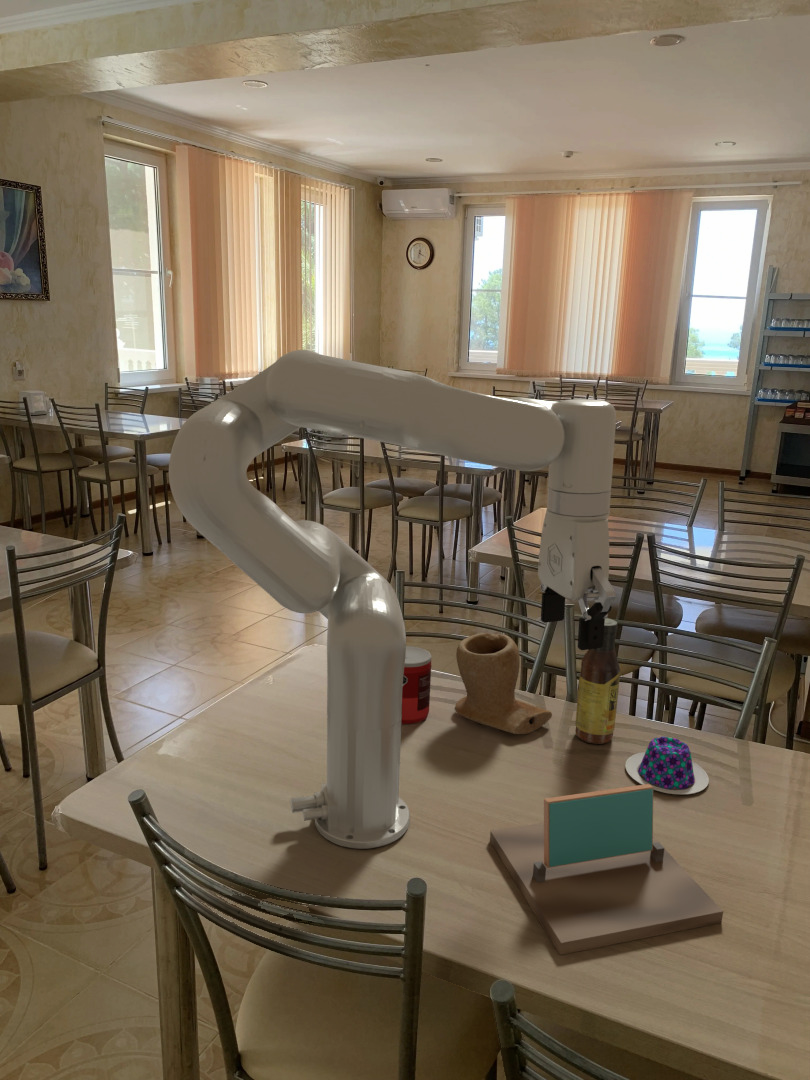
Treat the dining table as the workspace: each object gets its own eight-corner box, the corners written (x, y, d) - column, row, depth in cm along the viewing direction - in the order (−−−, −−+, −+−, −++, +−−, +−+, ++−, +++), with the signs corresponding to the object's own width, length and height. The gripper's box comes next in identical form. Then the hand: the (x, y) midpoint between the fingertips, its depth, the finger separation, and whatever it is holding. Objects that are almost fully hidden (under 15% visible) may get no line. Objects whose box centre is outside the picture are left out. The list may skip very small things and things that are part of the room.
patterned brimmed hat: (620, 752, 127) (623, 722, 126) (698, 759, 125) (703, 729, 124) (630, 794, 116) (633, 761, 114) (716, 803, 114) (721, 770, 113)
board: (489, 840, 103) (491, 818, 102) (627, 819, 109) (629, 798, 108) (560, 954, 85) (562, 928, 84) (721, 922, 90) (725, 897, 89)
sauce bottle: (614, 748, 127) (627, 631, 122) (574, 743, 129) (585, 627, 123) (612, 729, 134) (624, 617, 129) (574, 724, 135) (584, 613, 130)
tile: (543, 798, 94) (548, 802, 93) (648, 783, 98) (654, 787, 97) (543, 864, 95) (548, 868, 94) (647, 846, 99) (653, 851, 98)
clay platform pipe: (438, 719, 135) (442, 636, 131) (478, 697, 144) (483, 618, 140) (514, 751, 126) (521, 662, 122) (553, 725, 134) (560, 641, 131)
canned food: (376, 706, 139) (378, 647, 136) (420, 701, 141) (423, 643, 138) (389, 727, 132) (391, 665, 129) (435, 722, 134) (438, 661, 131)
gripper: (519, 490, 105) (514, 614, 109) (587, 520, 89) (577, 664, 93) (571, 487, 107) (564, 609, 111) (645, 516, 91) (634, 656, 95)
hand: (570, 634), depth 102 cm, fingers open, 9 cm apart
